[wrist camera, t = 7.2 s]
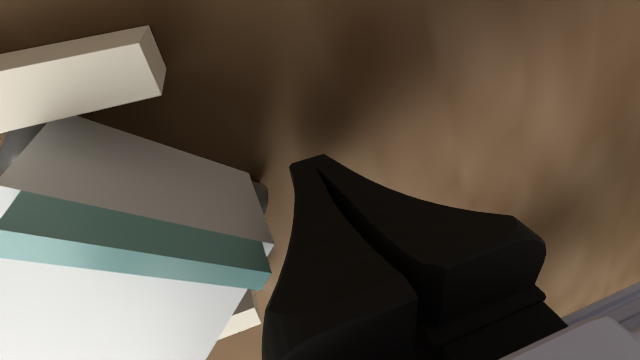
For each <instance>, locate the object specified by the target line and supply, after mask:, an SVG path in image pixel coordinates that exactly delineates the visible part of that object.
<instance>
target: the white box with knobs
mask: <svg viewBox="0 0 640 360" xmlns="http://www.w3.org/2000/svg"><path fill="white" fill-rule="evenodd" d="M0 173H3V174H2V175H1V176H0V360H206V358H207V356H208V355H209V353H210V351H211V350H212V348H213V346H214V345H215V343H216V341H217V340H218V338H219V336H220V335H221V333H222V331H223V330H224V328H225V326H226V325H227V323H228V321H229V320H230V318H231V316H232V314H233V313H234V311H235V309H236V308H237V306H238V304H239V303H240V301H241V299H242V298H243V296H244V294H245V293H246V291H247V289H253V290H262V288H263V287H264V285H265V283H266V282H267V280H268V279H269V277H270V275H271V274H272V272H271V269H270V266H269V263H268V260H267V256H268V254H269V253H270V251H271V249H272V248H273V246H274V242H273V239H272V236H271V234H270V231H269V228H268V225H267V222H266V220H265V217H264V214H265V211H266V208H267V203H268V190H267V187H266V186H265V185H263V184H260V183H257V182H254V181H251V178H250V175H249V173H247V172H244V171H241V170H238V169H235V168H232V167H229V166H226V165H223V164H220V163H217V162H214V161H211V160H208V159H205V158H202V157H199V156H196V155H193V154H190V153H187V152H184V151H181V150H178V149H175V148H172V147H169V146H166V145H163V144H160V143H157V142H154V141H151V140H148V139H145V138H142V137H139V136H136V135H133V134H130V133H127V132H124V131H121V130H118V129H115V128H112V127H109V126H106V125H103V124H100V123H97V122H94V121H91V120H88V119H85V118H82V117H79V116H71V117H67V118H63V119H58V120H54V121H50V122H46V123H41V124H37V125H33V126H29V127H24V128H20V129H16V130H12V131H8V132H7V134H6V137H5V139H4V142H3V144H2V147H1V150H0Z"/></svg>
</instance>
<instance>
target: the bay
mask: <svg viewBox="0 0 640 360" xmlns="http://www.w3.org/2000/svg"><path fill="white" fill-rule="evenodd" d="M165 74H166V66H165V64H164V62H163V59H162V57H161V54H160V52H159V49H158V47H157V44H156V42H155V39H154V37H153V35H152V32H151V30H150V27H149V25H147V26H142V27H137V28H132V29H126V30H121V31H116V32H111V33H106V34H101V35H96V36H90V37H85V38H80V39H75V40H70V41H65V42H60V43H55V44H49V45H44V46H39V47H34V48H29V49H24V50H19V51H13V52H8V53H3V54H0V133H3V132H7V131H12V130H16V129H20V128H24V127H29V126H33V125H37V124H41V123H46V122H50V121H54V120H58V119H63V118H67V117H71V116H76V115H80V114H84V113H88V112H93V111H97V110H101V109H105V108H110V107H114V106H118V105H122V104H127V103H131V102H135V101H139V100H144V99H148V98H152V97H156V96H161V95H162V90H163V85H164V79H165ZM259 324H261V319H260V315H259V310H258V305H257V300H256V295H255V290H253V289H247V291H246V293H245V294H244V296H243V298H242V299H241V301H240V303H239V304H238V306H237V308H236V309H235V311H234V313H233V314H232V316H231V318H230V320H229V321H228V323H227V325H226V326H225V328H224V330H223V331H222V333H221V335H220V336H219V338H218V340H219V339H222V338H225V337H227V336H230V335H233V334H235V333H238V332H240V331H243V330H246V329H248V328H251V327H253V326H256V325H259Z"/></svg>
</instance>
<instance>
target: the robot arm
mask: <svg viewBox="0 0 640 360" xmlns="http://www.w3.org/2000/svg"><path fill="white" fill-rule="evenodd" d="M289 169H290V173H291V178H292V182H293V186H294V192H295V204H294V218H293V226H292V232H291V237H290V242H289V246H288V251H287V254H286V258H285V261H284V264H283V267H282V270H281V273H280V276H279V279H278V282H277V284H276V287H275V289H274V291H273V293H272V296H271V298H270V300H269V303H268V305H267V307H266V309H265V316H264V325H263V335H262V360H640V282H638V283H636V284H633V285H631V286H629V287H627V288H625V289H623V290H621V291H618V292H616V293H614V294H612V295H610V296H608V297H605V298H603V299H601V300H599V301H597V302H595V303H592V304H590V305H588V306H586V307H584V308H582V309H580V310H577V311H575V312H573V313H571V314H569V315H567V316H564V317H562V318H560V317H559V316H558V315H557V314H556V313H555V312H554V311H553V310H552V309H550V308H549V307H548V306H547V305H546V304H545V303H544V302H543V301H544V300H545V298H546V296H545V293H544V292H542V291H541V290H540V289H539V288H538V287H537V286H536V285H535V282H536V280H537V277H538V275H539V272H540V270H541V268H542V265H543V263H544V260H545V256H546V246H545V242H544V241H543V240H542V239H541V238H540V237H539V236H538V235H537V234H535V233H534V232H533V231H531V230H530V229H529V228H528V227H526V226H525V225H524V224H523V223H521V222H520V221H519V220H517V219H516V218H515V217H513V216H510V215H502V214H493V213H484V212H476V211H470V210H464V209H459V208H453V207H449V206H444V205H440V204H436V203H432V202H428V201H424V200H421V199H417V198H414V197H411V196H408V195H405V194H402V193H399V192H397V191H394V190H391V189H389V188H386V187H384V186H382V185H380V184H377V183H375V182H373V181H371V180H369V179H367V178H365V177H363V176H361V175H359V174H357V173H355V172H354V171H352V170H350V169H348V168H347V167H345V166H343V165H341V164H340V163H338V162H337V161H335V160H333V159H332V158H330V157H328V156H326V155H325V154H322V155H318V156H315V157H312V158H308V159H305V160H302V161H298V162H295V163H292V164H291V165H290V167H289Z"/></svg>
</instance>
